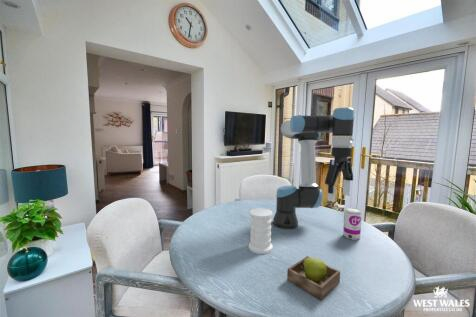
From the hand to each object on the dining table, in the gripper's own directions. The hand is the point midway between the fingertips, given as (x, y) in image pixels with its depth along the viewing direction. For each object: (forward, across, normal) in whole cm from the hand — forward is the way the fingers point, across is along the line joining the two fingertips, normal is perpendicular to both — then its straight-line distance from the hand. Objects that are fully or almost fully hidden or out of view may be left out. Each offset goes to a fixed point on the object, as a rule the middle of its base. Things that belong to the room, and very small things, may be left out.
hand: (338, 198), depth 90 cm
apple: (+28, -18, 0) cm, 33 cm away
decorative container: (+29, -15, +30) cm, 44 cm away
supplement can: (+29, +31, +6) cm, 43 cm away
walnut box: (+29, -18, 0) cm, 34 cm away
